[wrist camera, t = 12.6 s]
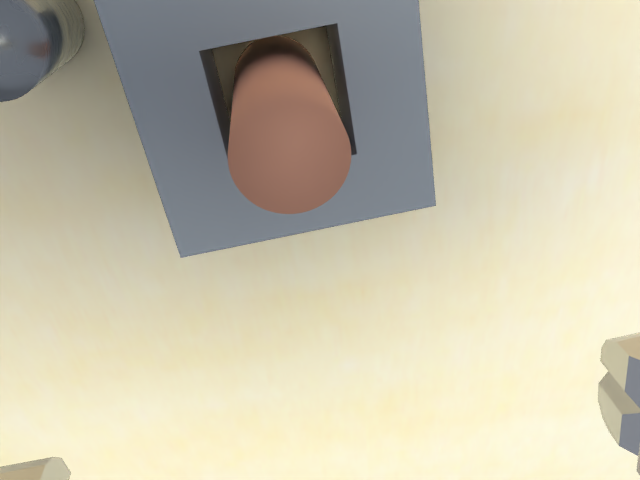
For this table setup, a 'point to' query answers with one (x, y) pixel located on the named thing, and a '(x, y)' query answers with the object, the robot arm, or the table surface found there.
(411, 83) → the bore block
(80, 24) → the short pin
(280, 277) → the table surface
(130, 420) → the table surface
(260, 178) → the long pin
